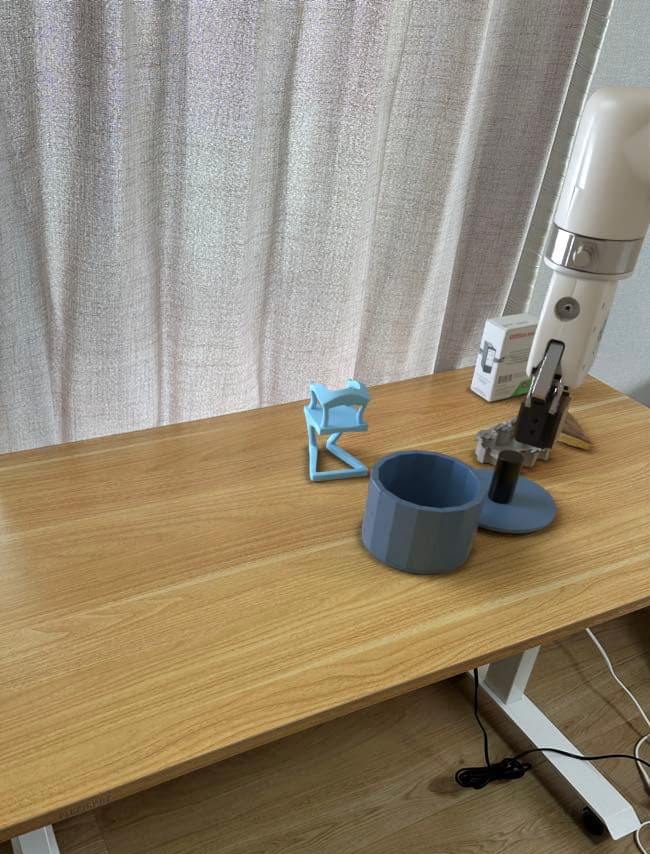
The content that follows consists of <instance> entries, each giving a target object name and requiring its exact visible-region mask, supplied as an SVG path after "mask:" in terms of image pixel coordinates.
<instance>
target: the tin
mask: <svg viewBox="0 0 650 854" xmlns="http://www.w3.org/2000/svg"><path fill="white" fill-rule="evenodd" d="M476 469H477V468H475V467H473V466H472V465H470V464H469V463H467V462H465V461H464V460H461V459H459V458H458V457H456V456H451V455H448V454H445V453H442V452H438V451H430V450H420V449H410V450H400V451H399V450H398V451H394V452H391V453H389V454H385V455H384V456H381V457H379V459H378V460H377V461H376V462H375V463H374V464H373V465H372V466H371V469H370V470H371V471H370V476H369V482H368V487H367V495H366V501H365V507H364V512H363V519H362V527H361V539H362V543H363V545H364V546H365V548H366V550H367V551H368V552H369V553H370V554H371V555H372V556H373V557H374V558H375V559H377V560H378V561H380V562H381V563H383V564H385V565H387V566H388V567H391V568H392V569H393V568H394V569H396V570H399V571H403V572H407V573H411V574H418V575H437V574H439V575H440V574H444V573H448V572H451V571H454V570H456V569H457V568H460V567H461V566H462V565H463V564H464V563H465V562H466V561H467V560H468V559H469V556H470V553H471V552H472V550H473V546H474V543H475V539H476V535H477V531H478V529H479V526H478V524H479V521H480V517H481V513H482V510H483V506H484V502H485V499H486V495H487V488H486V483H485V479H484V478H483V477H482V476H481V475H480V474H479V473H478V471H477V470H476Z"/></svg>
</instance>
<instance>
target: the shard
mask: <svg viewBox="0 0 650 854" xmlns="http://www.w3.org/2000/svg"><path fill="white" fill-rule="evenodd" d="M557 441H558V442H561V443H563V444H566V445H569V446H572V447H575V448H580V449H583V450H586V451H588V450H590V447H591V446H594V443H593V442H592V441H591V440H590V438H589V437H588V436H587V435H586V434H585V432H584V430H583V428H582V427H581V425H580V424H579V422H578V420H577V419H576V418H575V417H574V415H572V414H571V413H570V411H568V413H567V416H566V419H565V422H564V425H563V428H562V431H561V434H560V435H559V437H558V440H557ZM557 441H556V442H557Z"/></svg>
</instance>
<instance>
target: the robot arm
mask: <svg viewBox="0 0 650 854" xmlns="http://www.w3.org/2000/svg"><path fill="white" fill-rule="evenodd" d="M649 227H650V87H649V86H641V85H626V84H625V85H623V84H622V85H608V86H604V87H601V88H599V89H597V90H596V91H595V92H593V94H591V95H590V97H589V98H588V100H587V101H586V104H585V106H584V110H583V112H582V116H581V119H580V123H579V127H578V130H577V134H576V138H575V142H574V146H573V149H572V153H571V157H570V161H569V164H568V167H567V172H566V176H565V179H564V183H563V186H562V190H561V194H560V198H559V201H558V205H557V209H556V213H555V216H554V221H553V223H552V227H551V232H550V234H549V238H548V242H547V246H546V249H545V253H544V257H543V262H544V264H545V265H546V266H547V267H548V268H550V269H551V270H552V271H553V272H552V275H551V278H550V281H549V285H548V288H547V291H546V294H545V298H544V302H543V305H542V308H541V311H540V315H539V322H538V325H537V329H536V332H535V336H534V340H533V344H532V347H531V351H530V355H529V359H528V364H527V369H526V373H527V375H528V377H529V378H530V379H531V378H532V377H533V376H534V378H533V382H532V385H531V388H530V391H529V394H528V397H527V400H526V402H525V404H524V407H523V410H522V414H521V417H520V421H519V424H518V428H517V431H516V435H515V440H516V441H517V442H520V443H523V444H527V445H530V446H534V447H537V448H540V449H546V448H547V446H548V445H549V441H550V438H551V435H552V432H553V429H554V426H555V422H556V419H557V416H558V413H559V411H556V409H557V406H558V403H559V400H560V397H561V395H564V396H568V397H570V395H571V392H569V391H570V390H571V391H573V390H576V389H578V388H579V387H581V385H582V384H583V382H584V380H585V379H586V377H587V375H588V373H589V372H590V370H591V368H592V367H593V365H594V363H595V361H596V358H597V356H598V352H599V348H600V345H601V342H602V338H603V335H604V331H605V329H606V326H607V322H608V319H609V316H610V313H611V309H612V306H613V303H614V299H615V296H616V293H617V288H618V285H619V281H623V280H625V279H629V278H631V277H632V276H633V274H634V271H635V267H636V265H637V262H638V259H639V256H640V253H641V250H642V247H643V245H644V242H645V239H646V235H647V232H648V230H649ZM553 393H554V396H553Z"/></svg>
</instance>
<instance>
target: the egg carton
mask: <svg viewBox="0 0 650 854" xmlns="http://www.w3.org/2000/svg"><path fill="white" fill-rule="evenodd" d="M517 416H518V414H517V415H516V416H514V417H513V418H511V419H509V421H507V420H505V421H504V422H502V421H500V422H499V423H497V424H496V425H494V426H490V427H489V428H487V429H480V430H479V431H478V432H477V433H476V434H475V438H474V440H473V442H474V443H475V444H477V445H476V449H475V452H474V453H475V455H476V456H477V457H476V459H477V461H478V462H479V463H481V464H485V463H486V464H491V465H493V466H495V465H496V462H497V458H498V454H499V453H500V452H501V451H503V450H512V451H516V452H518V453H520V454H521V455H522V456H523V457H524V461H523V465H522V468H521V470H522V469H523V467H524V468H531V467H533V466H534V465H535V462H536V461H537V460H542V461H547V460H548V459H549V457H550V451H551V449H549V448H546V449H540V448H537V447H534V446H530V445H527V444H523V443H520V442H517V441H516V440H515V439H514V438H512V434H513V430H514V427H515V423H516V420H517ZM557 440H558V439H557ZM556 445H557V441H556V442H555V444H554V446H553V447H556Z"/></svg>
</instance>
